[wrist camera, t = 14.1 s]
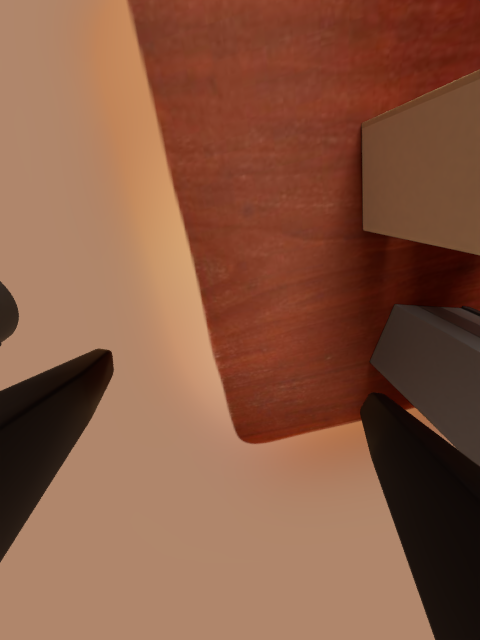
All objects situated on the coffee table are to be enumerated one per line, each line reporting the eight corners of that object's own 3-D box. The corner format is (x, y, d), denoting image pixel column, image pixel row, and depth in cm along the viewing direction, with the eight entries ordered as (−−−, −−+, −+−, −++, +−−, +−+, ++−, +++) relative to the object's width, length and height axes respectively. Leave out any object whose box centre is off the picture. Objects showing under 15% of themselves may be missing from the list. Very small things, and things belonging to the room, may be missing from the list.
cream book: (362, 230, 19) (675, 298, 6) (361, 123, 15) (995, -167, 3) (393, 221, 19) (767, 270, 6) (398, 112, 15) (1182, -223, 3)
